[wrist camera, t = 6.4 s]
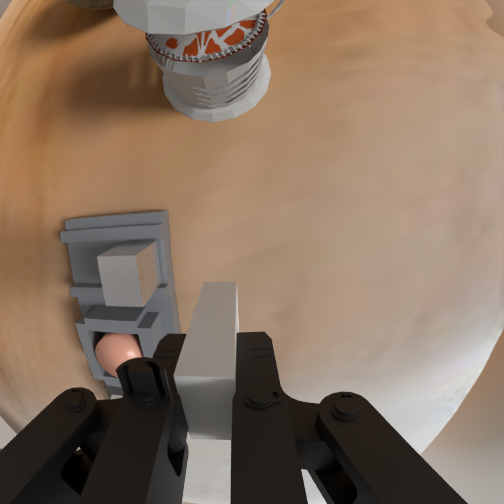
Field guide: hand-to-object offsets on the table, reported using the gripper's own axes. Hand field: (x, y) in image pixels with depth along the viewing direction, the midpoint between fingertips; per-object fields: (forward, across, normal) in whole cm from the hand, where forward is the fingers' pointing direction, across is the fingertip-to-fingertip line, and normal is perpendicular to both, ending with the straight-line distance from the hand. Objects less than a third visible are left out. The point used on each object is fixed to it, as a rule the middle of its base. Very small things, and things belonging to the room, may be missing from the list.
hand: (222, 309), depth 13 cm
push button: (+9, +10, +8) cm, 16 cm away
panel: (+12, +10, +8) cm, 18 cm away
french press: (+12, 0, -17) cm, 21 cm away
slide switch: (+9, +7, 0) cm, 12 cm away
